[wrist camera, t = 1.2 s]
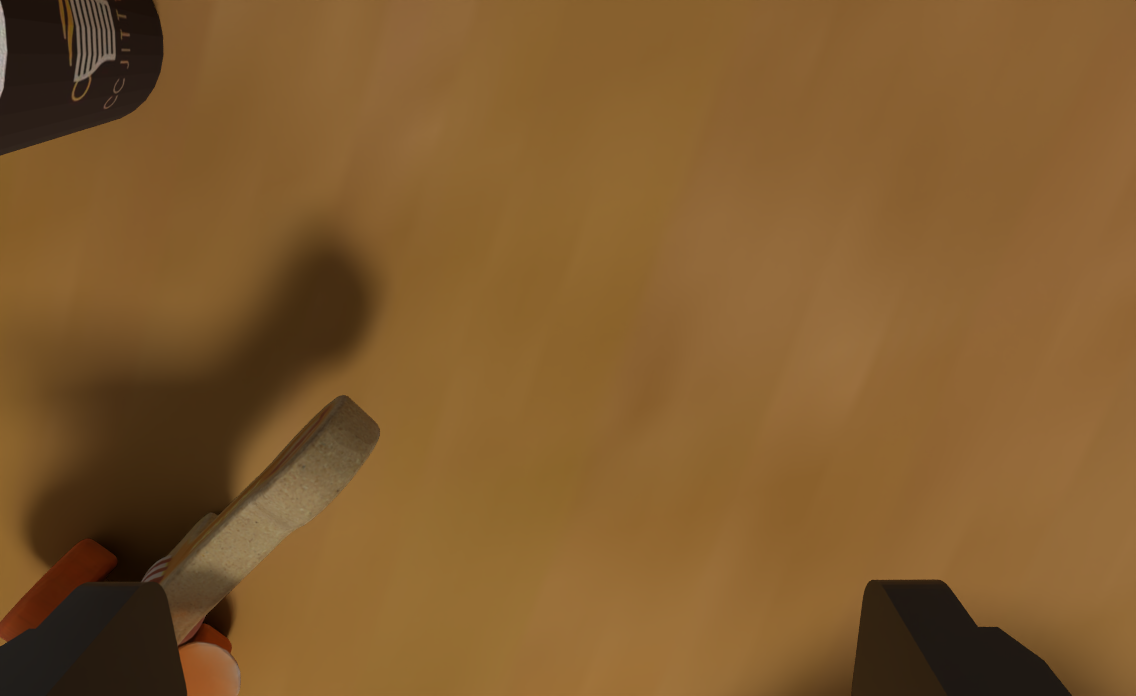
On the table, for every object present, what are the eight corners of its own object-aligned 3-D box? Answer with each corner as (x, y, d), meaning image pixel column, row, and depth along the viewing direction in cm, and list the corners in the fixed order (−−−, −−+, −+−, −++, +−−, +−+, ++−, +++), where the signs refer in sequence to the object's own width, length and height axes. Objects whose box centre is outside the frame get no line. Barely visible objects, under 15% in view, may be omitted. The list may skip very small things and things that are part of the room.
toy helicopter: (33, 593, 37) (-266, 871, 24) (318, 290, 32) (137, 431, 19) (175, 695, 39) (-31, 1008, 26) (466, 423, 34) (394, 637, 21)
